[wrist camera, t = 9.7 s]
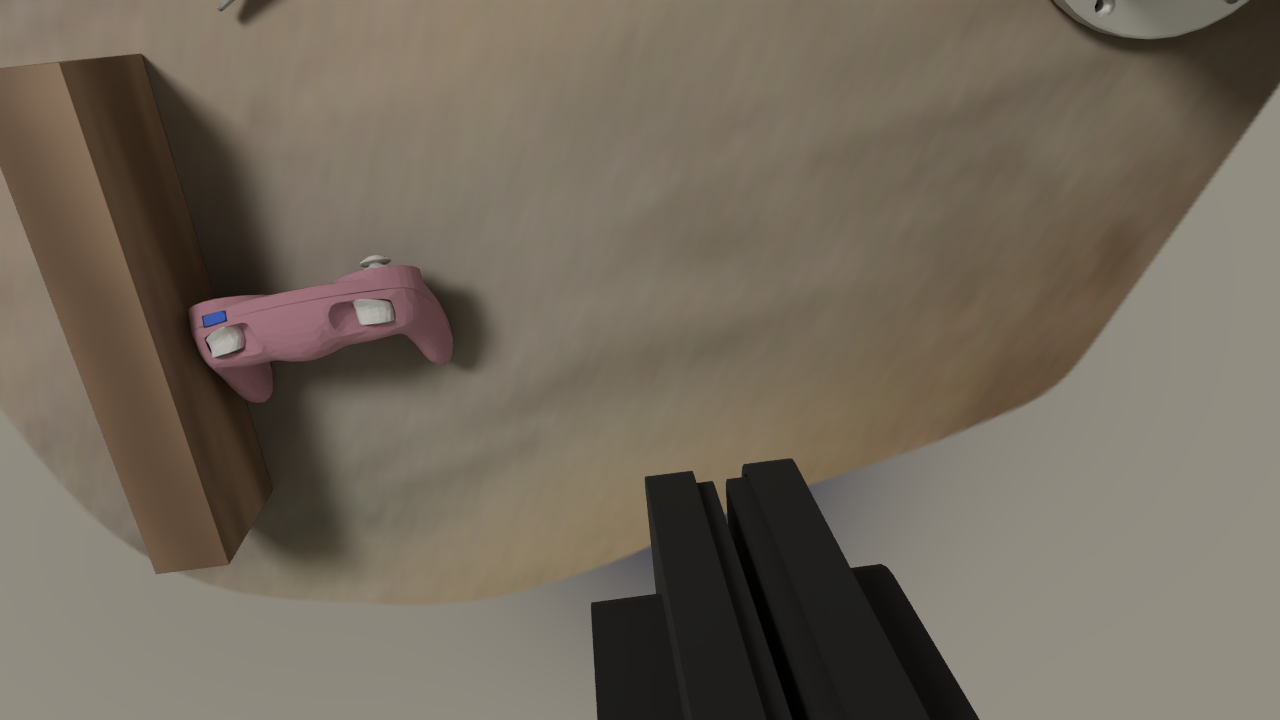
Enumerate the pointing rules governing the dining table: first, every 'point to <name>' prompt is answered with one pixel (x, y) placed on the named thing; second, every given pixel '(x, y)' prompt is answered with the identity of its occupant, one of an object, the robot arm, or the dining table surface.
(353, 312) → the video game controller
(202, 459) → the bar
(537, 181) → the dining table surface
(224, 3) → the pliers
